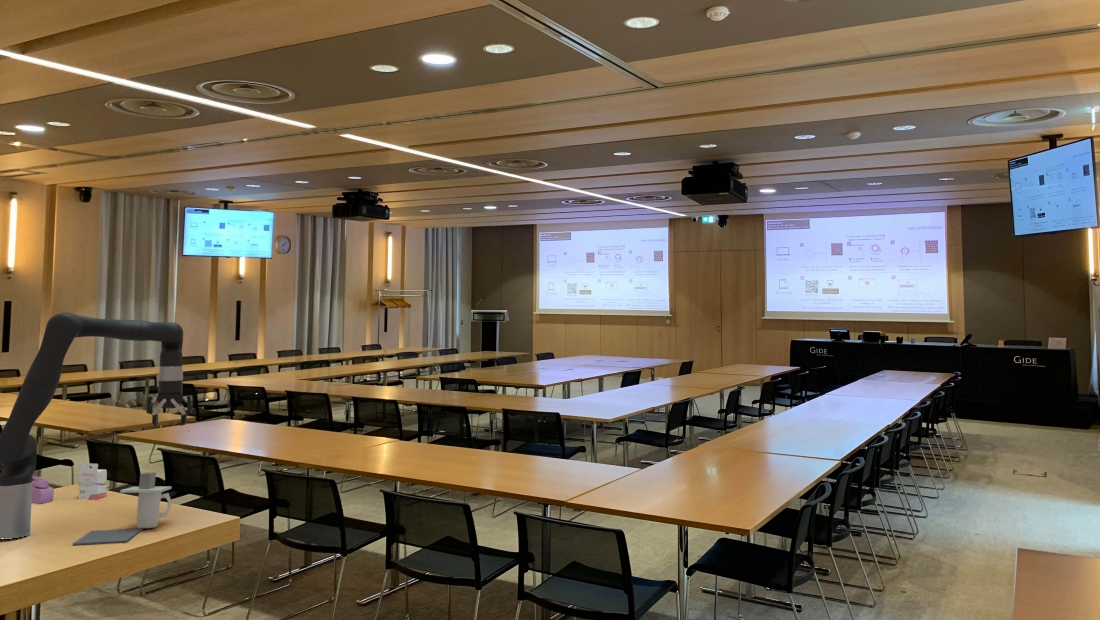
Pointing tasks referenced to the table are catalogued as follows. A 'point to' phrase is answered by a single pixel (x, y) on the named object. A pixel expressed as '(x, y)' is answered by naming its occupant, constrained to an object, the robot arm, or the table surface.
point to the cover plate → (136, 489)
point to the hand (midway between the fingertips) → (169, 425)
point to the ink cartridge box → (92, 482)
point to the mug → (150, 509)
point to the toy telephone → (41, 490)
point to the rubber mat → (108, 536)
